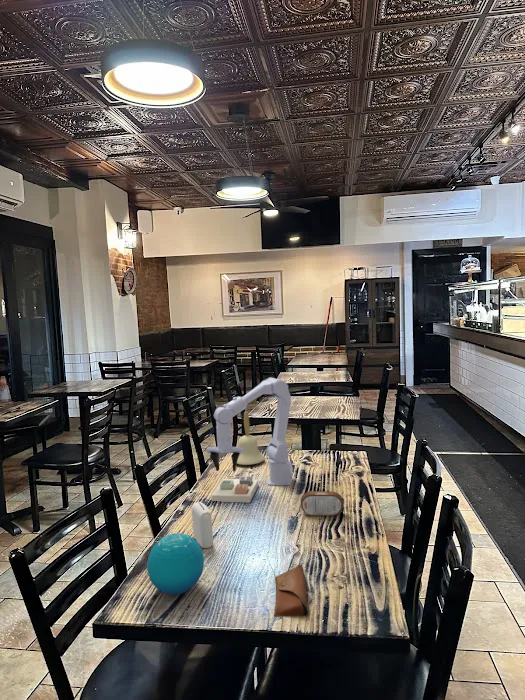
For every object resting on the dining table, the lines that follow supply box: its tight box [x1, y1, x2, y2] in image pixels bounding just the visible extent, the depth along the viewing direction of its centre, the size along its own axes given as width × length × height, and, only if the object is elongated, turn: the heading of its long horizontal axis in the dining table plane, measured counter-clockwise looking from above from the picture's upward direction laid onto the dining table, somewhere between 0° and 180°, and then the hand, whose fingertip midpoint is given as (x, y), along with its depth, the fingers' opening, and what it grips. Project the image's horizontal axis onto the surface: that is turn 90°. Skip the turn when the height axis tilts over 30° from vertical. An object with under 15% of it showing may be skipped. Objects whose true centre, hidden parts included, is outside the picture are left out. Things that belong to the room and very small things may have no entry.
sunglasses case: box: [273, 564, 309, 618], centre depth 123 cm, size 18×7×7 cm
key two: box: [235, 484, 249, 494], centre depth 187 cm, size 4×4×3 cm
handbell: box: [236, 411, 265, 466], centre depth 227 cm, size 15×15×25 cm
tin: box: [300, 490, 344, 517], centre depth 168 cm, size 15×3×8 cm, turn 84°
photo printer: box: [191, 501, 214, 549], centre depth 153 cm, size 10×4×12 cm, turn 26°
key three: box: [219, 479, 234, 490], centre depth 192 cm, size 4×4×3 cm
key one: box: [239, 476, 253, 486], centre depth 195 cm, size 4×4×3 cm
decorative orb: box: [146, 532, 205, 595], centre depth 127 cm, size 15×15×15 cm
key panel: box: [211, 478, 259, 503], centre depth 192 cm, size 15×17×2 cm
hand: (226, 470), depth 191 cm, fingers open, 6 cm apart
